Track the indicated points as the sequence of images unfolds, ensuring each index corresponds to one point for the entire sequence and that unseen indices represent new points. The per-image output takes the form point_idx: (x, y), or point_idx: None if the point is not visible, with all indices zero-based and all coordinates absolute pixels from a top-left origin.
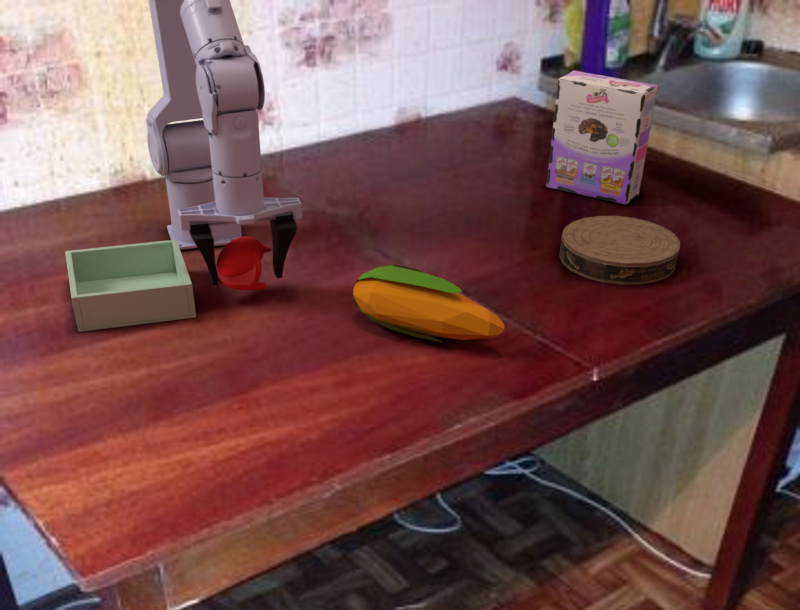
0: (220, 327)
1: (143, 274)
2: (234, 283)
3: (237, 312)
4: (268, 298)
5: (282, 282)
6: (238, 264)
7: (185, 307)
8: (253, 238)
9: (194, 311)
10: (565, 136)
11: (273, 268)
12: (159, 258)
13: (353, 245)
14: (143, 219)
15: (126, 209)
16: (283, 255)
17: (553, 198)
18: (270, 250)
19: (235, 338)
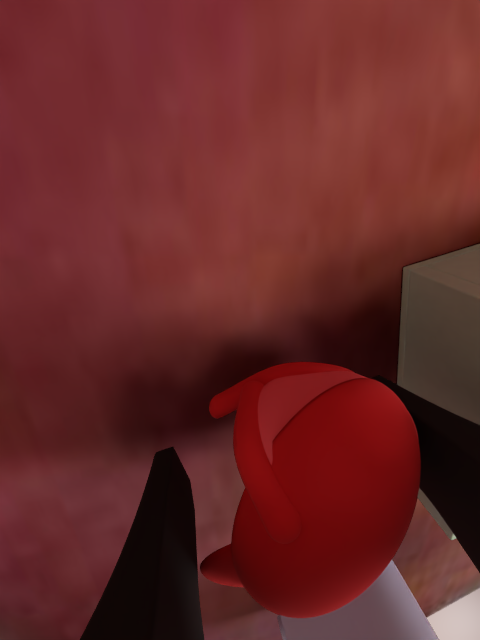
0: (345, 201)
1: None
2: (327, 374)
3: (288, 303)
4: (199, 388)
5: None
6: (353, 434)
7: (458, 269)
8: (290, 614)
9: (420, 271)
10: None
11: (190, 490)
12: None
13: (18, 629)
14: (411, 577)
15: (426, 588)
16: (134, 547)
17: None
18: (204, 563)
19: (303, 102)
